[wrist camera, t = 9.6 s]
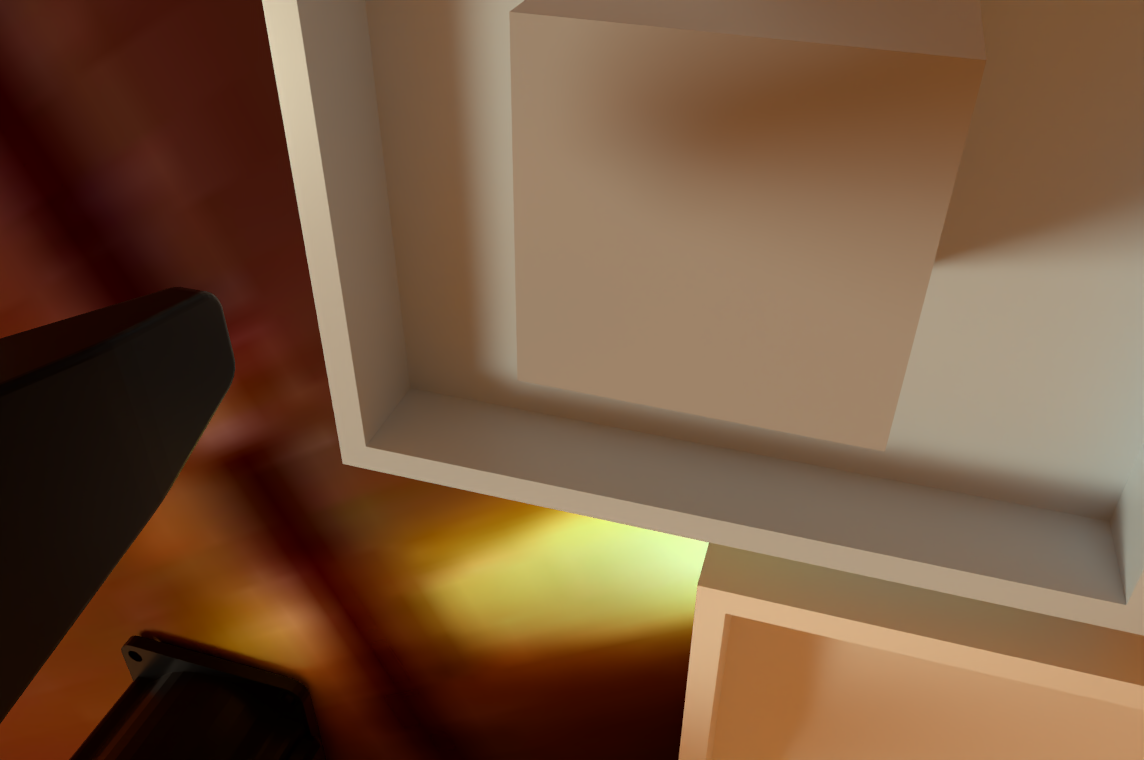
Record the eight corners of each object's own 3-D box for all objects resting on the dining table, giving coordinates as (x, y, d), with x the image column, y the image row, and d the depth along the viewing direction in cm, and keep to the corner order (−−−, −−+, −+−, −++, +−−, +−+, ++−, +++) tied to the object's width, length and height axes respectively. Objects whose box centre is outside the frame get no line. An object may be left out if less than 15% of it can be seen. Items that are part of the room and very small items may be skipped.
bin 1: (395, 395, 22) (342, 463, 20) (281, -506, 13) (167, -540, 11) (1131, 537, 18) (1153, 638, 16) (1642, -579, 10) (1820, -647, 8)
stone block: (611, 227, 18) (517, 380, 14) (624, -74, 15) (509, 12, 11) (898, 271, 16) (884, 451, 13) (973, -47, 14) (986, 59, 10)
